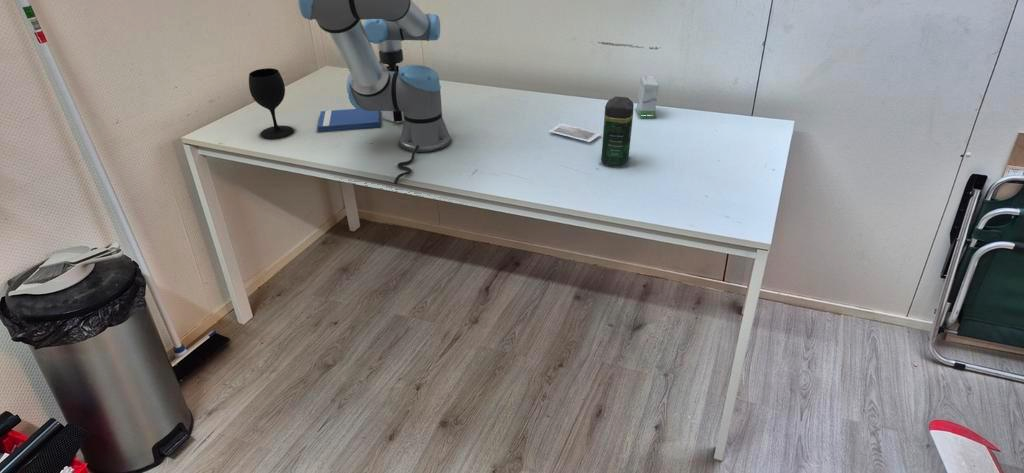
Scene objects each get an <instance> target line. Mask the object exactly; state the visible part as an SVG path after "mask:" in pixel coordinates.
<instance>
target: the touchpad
mask: <svg viewBox="0 0 1024 473" xmlns="http://www.w3.org/2000/svg"><path fill="white" fill-rule="evenodd" d="M548 132H550V133H553V134H557V135H561V136H565V137H569V138H572V139H577V140H580V141H584V142H587V143H590V142H592V141H593V140H596V139H597V138H598V137H599V136H601V135H603V132H599V131H594V130H590V129H586V128H583V127H579V126H574V125H570V124H566V123H562V122H561V123H559V124H557V125H556V126H555V127H552V128H551V129H549V130H548Z"/></svg>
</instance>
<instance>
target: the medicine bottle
mask: <svg viewBox="0 0 1024 473" xmlns="http://www.w3.org/2000/svg"><path fill="white" fill-rule="evenodd" d="M401 113H402V121H397V122H396V123H397V124H400V123H404V114H403V111H401ZM382 118H383V120H386V121H389V122H393V123H395V122H394V116H393V111H382Z"/></svg>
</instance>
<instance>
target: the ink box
mask: <svg viewBox="0 0 1024 473" xmlns="http://www.w3.org/2000/svg"><path fill="white" fill-rule="evenodd" d="M659 86H660V84H659V82H658V80H657V78H656V76H649V75H648V76H647V75H642V76H640V80H639V86H638V96H637V102H636V111H637V113H638V116H639V118H640V119H655V115H656V109H657V102H658V94H659ZM641 115H646V116H641ZM647 115H654V116H647Z"/></svg>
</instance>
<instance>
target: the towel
mask: <svg viewBox="0 0 1024 473" xmlns="http://www.w3.org/2000/svg"><path fill="white" fill-rule="evenodd" d="M376 128H377V129H378V128H381V111H364V110H358V109H356V108H348V109H334V110H333V109H332V110H331V109H330V110H321V111H320V113H319V118H318V124H317V133H324V132H325V133H326V132H340V131H351V130H364V129H376Z"/></svg>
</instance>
